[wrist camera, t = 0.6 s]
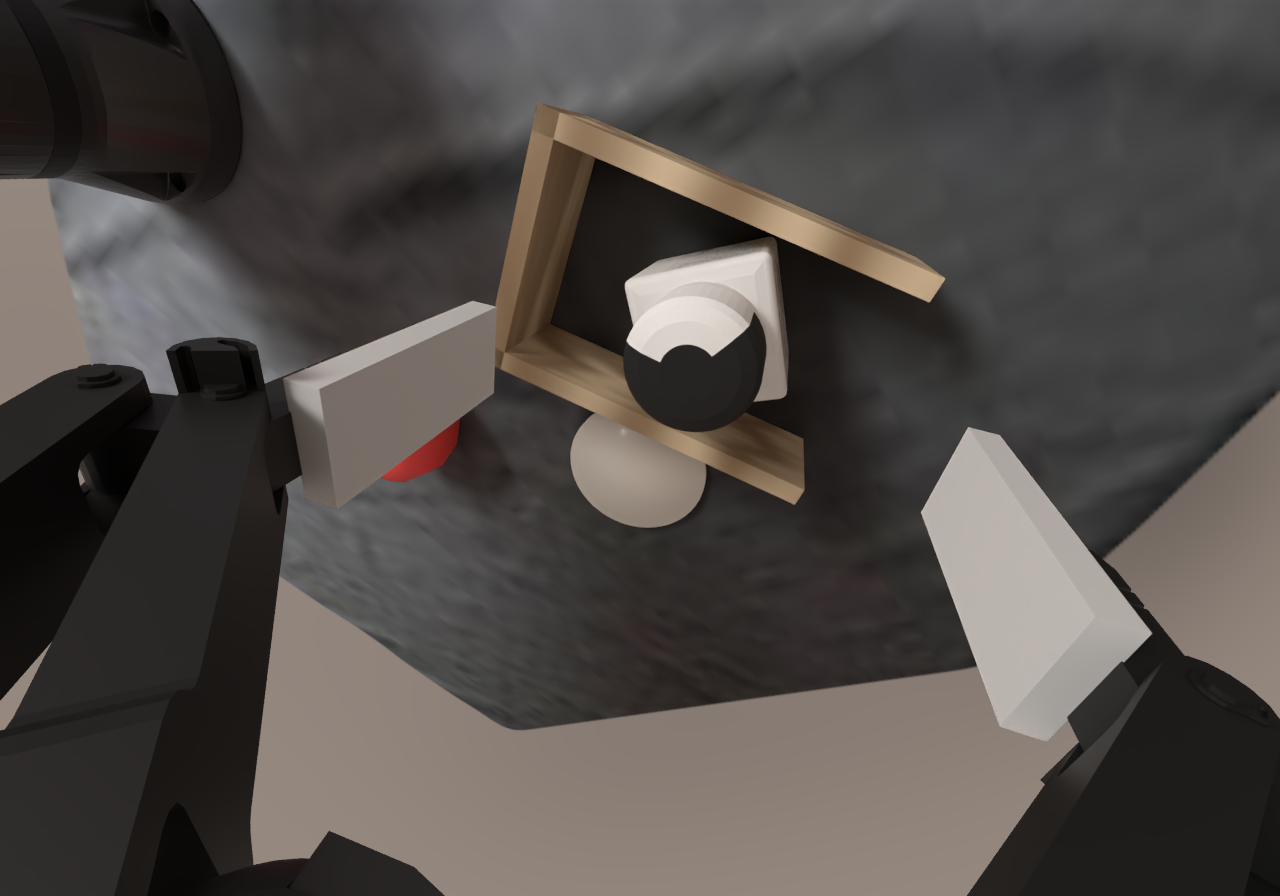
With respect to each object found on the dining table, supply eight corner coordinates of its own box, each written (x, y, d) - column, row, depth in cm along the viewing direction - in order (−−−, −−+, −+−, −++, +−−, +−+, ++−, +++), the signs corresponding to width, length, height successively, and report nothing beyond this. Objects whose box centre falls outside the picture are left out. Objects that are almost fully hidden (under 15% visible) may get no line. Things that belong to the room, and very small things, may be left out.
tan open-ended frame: (531, 332, 39) (483, 361, 33) (586, 115, 32) (537, 102, 26) (795, 452, 38) (794, 504, 32) (916, 257, 30) (945, 278, 25)
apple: (460, 368, 42) (395, 406, 35) (483, 456, 46) (427, 506, 39) (378, 368, 44) (301, 405, 37) (405, 453, 48) (340, 500, 41)
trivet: (558, 488, 45) (555, 492, 45) (595, 378, 39) (593, 381, 39) (675, 543, 44) (673, 547, 44) (730, 440, 39) (729, 443, 38)
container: (789, 356, 35) (786, 443, 24) (677, 372, 37) (627, 456, 26) (776, 234, 32) (765, 268, 21) (654, 260, 34) (587, 302, 23)
